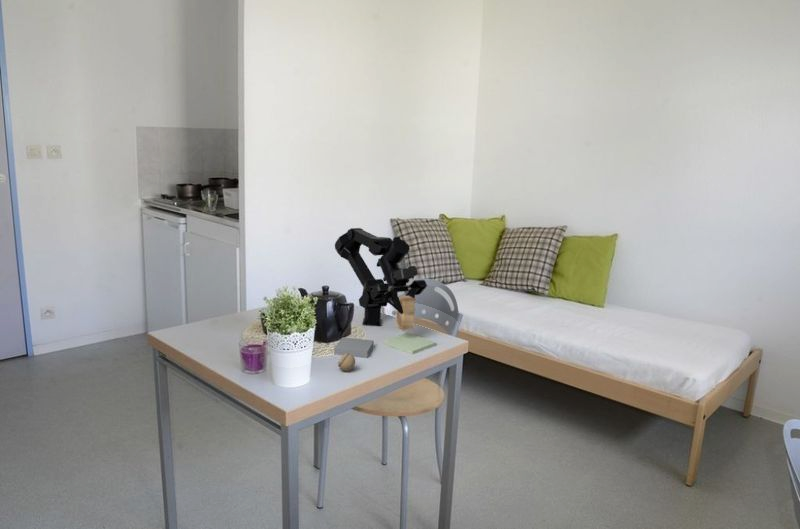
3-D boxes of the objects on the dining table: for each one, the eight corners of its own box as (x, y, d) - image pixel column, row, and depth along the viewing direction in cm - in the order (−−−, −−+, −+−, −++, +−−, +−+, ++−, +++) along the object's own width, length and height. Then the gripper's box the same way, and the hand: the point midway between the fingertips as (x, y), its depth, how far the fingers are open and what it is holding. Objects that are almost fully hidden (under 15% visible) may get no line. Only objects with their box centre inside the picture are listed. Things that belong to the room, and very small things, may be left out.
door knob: (350, 366, 173) (351, 349, 172) (357, 372, 168) (358, 355, 167) (334, 368, 170) (334, 351, 169) (341, 375, 166) (342, 357, 165)
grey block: (342, 343, 191) (342, 337, 190) (373, 346, 189) (373, 340, 189) (334, 354, 181) (334, 347, 180) (367, 357, 180) (367, 351, 179)
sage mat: (383, 343, 192) (383, 340, 192) (407, 335, 201) (407, 332, 201) (412, 354, 185) (412, 351, 184) (436, 345, 194) (436, 342, 193)
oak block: (396, 326, 195) (397, 296, 193) (406, 325, 197) (408, 295, 195) (402, 330, 192) (404, 299, 190) (413, 328, 194) (415, 298, 192)
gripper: (376, 259, 188) (393, 302, 182) (425, 255, 198) (443, 296, 192) (363, 278, 196) (378, 320, 190) (411, 273, 206) (427, 313, 200)
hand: (408, 312), depth 192 cm, fingers closed on oak block, 4 cm apart
